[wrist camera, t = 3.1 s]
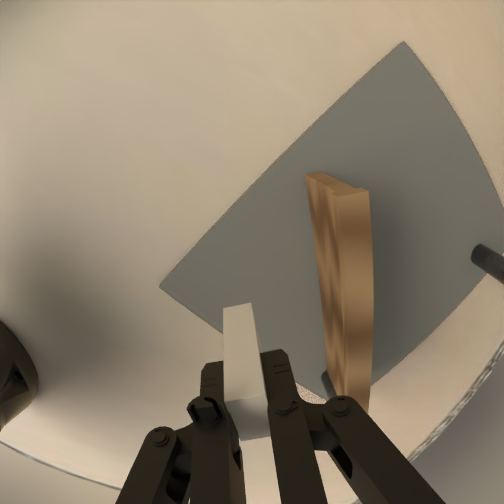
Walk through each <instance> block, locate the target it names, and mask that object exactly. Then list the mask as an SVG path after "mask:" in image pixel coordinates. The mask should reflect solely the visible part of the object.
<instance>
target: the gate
mask: <svg viewBox="0 0 504 504" xmlns="http://www.w3.org/2000/svg"><path fill="white" fill-rule="evenodd" d="M305 180H306V186H307V193H308V199H309V206H310V213H311V220H312V228H313V235H314V243H315V251H316V259H317V267H318V276H319V285H320V294H321V304H322V315H323V325H324V337H325V349H326V363H327V372H328V374H329V377H330V379H331V382H332V384H333V386H334V389H335V391H336V394H337V396H340V395H346V396H349V397H352V398H353V399H355V400H356V401H357V402H358V403H359V405H360V406H361V407H362V408H363V409H364V410H365V412H366V413H367V414H368V408H369V397H370V384H371V370H372V350H373V313H374V289H373V251H372V231H371V216H370V203H369V192H368V191H367V190H365V189H363V188H354V187H352V186H350V185H348V184H346V183H344V182H342V181H340V180H337V179H335V178H333V177H331V176H329V175H327V174H324V173H322V172H320V171H319V172H313V173H307V174H305Z"/></svg>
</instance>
